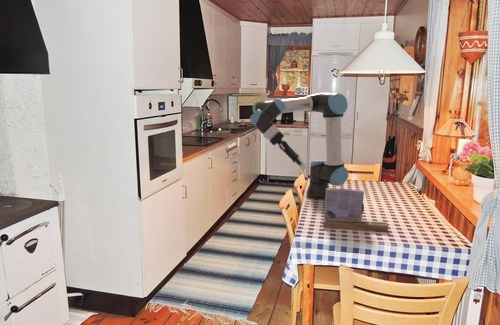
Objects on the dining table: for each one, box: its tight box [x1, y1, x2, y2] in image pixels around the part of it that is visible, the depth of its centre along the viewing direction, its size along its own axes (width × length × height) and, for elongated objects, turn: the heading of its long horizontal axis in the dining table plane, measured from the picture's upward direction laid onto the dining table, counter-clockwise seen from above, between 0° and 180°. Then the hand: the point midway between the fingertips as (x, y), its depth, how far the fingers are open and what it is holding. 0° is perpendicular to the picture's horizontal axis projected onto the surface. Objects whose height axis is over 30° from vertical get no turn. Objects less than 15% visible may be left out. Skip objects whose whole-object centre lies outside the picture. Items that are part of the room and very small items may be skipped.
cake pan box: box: [323, 187, 365, 221], centre depth 186 cm, size 19×5×18 cm, turn 82°
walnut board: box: [322, 217, 389, 233], centre depth 182 cm, size 5×30×3 cm, turn 80°
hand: (305, 168), depth 193 cm, fingers open, 2 cm apart
